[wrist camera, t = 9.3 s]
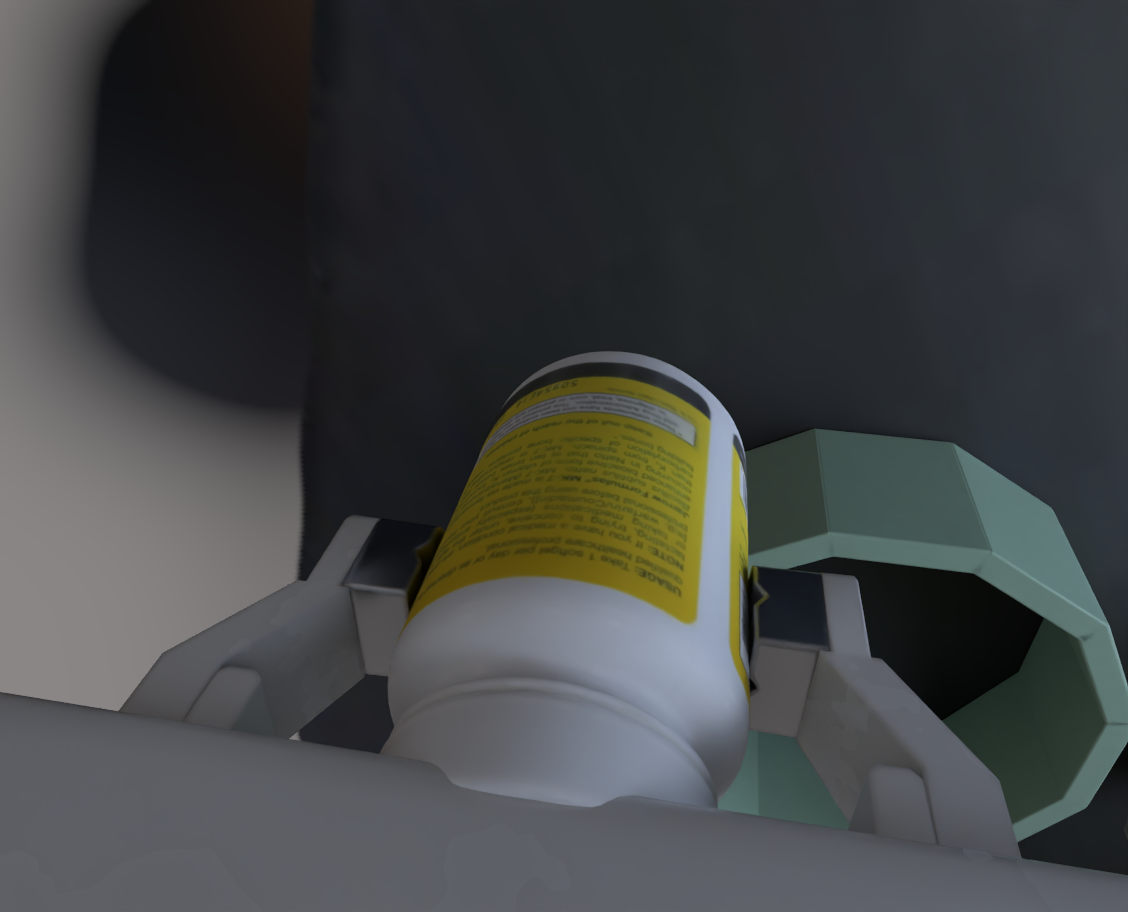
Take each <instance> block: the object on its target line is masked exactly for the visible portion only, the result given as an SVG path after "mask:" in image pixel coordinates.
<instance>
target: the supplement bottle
mask: <svg viewBox="0 0 1128 912" xmlns="http://www.w3.org/2000/svg"><path fill="white" fill-rule="evenodd" d="M747 528H748V509H747V475H746V459H745V452H744V448H743V444H742V440H741V438H740V435H739V432H738V430H737V428H736V426H735V424H734V421H733V420H732V418H731V416H730V415H729V413H728V412H727V411H726V409H725V408H724V407H723V405H722V404H721V403H720V402H719V401H718V399H717V398H716V397H715V396H714V395H713V394H712V393H711V392H709V391H708V390H707V389H706V388H705V387H704V386H703V385H701V384H700V383H699V382H698V381H696V380H695V379H694V378H692V377H691V376H689V375H688V374H686V373H685V372H683V371H681V370H679V369H677V368H676V367H674V366H672V365H670V364H667V363H665V362H663V361H660V360H658V359H655V358H651V357H648V356H644V355H640V354H634V353H627V352H611V351H602V352H590V353H584V354H580V355H575V356H571V357H568V358H565V359H562V360H560V361H557V362H555V363H552V364H550V365H548V366H546V367H545V368H543V369H541V370H539V371H538V372H536V373H535V374H533V375H532V376H531V377H529V378H528V379H527V380H526V381H524V382H523V383H522V384H521V385H520V386H519V387H518V388H517V389H516V390H515V391H514V392H513V393H512V395H511V396H510V397H509V398H508V400H507V401H506V402H505V404H504V406H503V407H502V408H501V410H500V411H499V413H498V414H497V416H496V418H495V420H494V422H493V424H492V426H491V429H490V431H489V433H488V435H487V439H486V441H485V443H484V445H483V448H482V450H481V452H480V455H479V458H478V460H477V463H476V465H475V467H474V469H473V471H472V474H471V476H470V478H469V480H468V482H467V485H466V487H465V489H464V491H463V493H462V496H461V498H460V500H459V503H458V505H457V507H456V509H455V512H454V514H453V516H452V518H451V520H450V522H449V525H448V527H447V529H446V532H445V534H444V536H443V539H442V541H441V543H440V545H439V547H438V549H437V552H436V554H435V556H434V559H433V561H432V563H431V566H430V568H429V570H428V572H427V574H426V577H425V579H424V581H423V584H422V586H421V588H420V591H419V593H418V595H417V597H416V600H415V602H414V604H413V606H412V609H411V611H410V613H409V615H408V618H407V620H406V622H405V624H404V627H403V629H402V631H401V633H400V636H399V638H398V640H397V642H396V646H395V649H394V653H393V656H392V660H391V665H390V670H389V675H388V701H389V707H390V713H391V717H392V720H393V723H394V726H395V727H394V729H393V731H392V732H391V735H390V738H389V739H388V740H387V741H386V743H385V744H384V746H383V748H382V750H381V752H380V754H384V755H390V756H396V757H402V758H408V759H414V760H420V761H425V762H429V763H432V764H434V765H436V766H438V767H439V768H440V769H441V770H442V771H443V772H444V773H445V774H446V775H447V777H448V779H449V780H450V781H451V782H452V783H453V784H455V785H458V786H460V787H464V788H468V789H472V790H477V791H482V792H487V793H492V794H498V795H504V796H510V797H517V798H523V799H529V800H536V801H542V802H549V803H555V804H563V805H571V806H582V807H594V806H600V805H602V804H604V803H605V802H607V801H611V800H613V799H615V798H617V797H624V796H642V797H648V798H654V799H660V800H666V801H673V802H679V803H685V804H691V805H697V806H703V807H709V808H715V809H718V802H719V801H720V799H721V798H722V797H723V796H724V795H725V793H726V792H727V791H728V789H729V788H730V786H731V785H732V783H733V782H734V780H735V778H736V776H737V774H738V772H739V770H740V768H741V765H742V762H743V759H744V755H745V752H746V748H747V742H748V734H749V722H750V690H749V616H748V530H747Z"/></svg>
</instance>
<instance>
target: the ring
mask: <svg viewBox="0 0 1128 912" xmlns="http://www.w3.org/2000/svg"><path fill="white" fill-rule="evenodd" d="M745 459H746V475H747V509H748V528H747V530H748V579H749V573H750V570H751V566H752V565H754V566H762V567H771V568H780V569H788V568H792V567H795V566H799V565H803V564H806V563H810V562H814V561H817V560H821V559H825V558H828V557H832V556H834V557H843V558H851V559H859V560H867V561H876V562H884V563H892V564H900V565H909V566H917V567H925V568H933V569H941V570H950V571H958V572H966V573H974V574H975V575H977V576H979V577H980V578H982V579H983V580H985V581H986V582H988V583H990V584H991V585H993V586H994V587H996V588H998V589H999V590H1001V591H1002V592H1004V593H1006V594H1007V595H1009V596H1010V597H1012V598H1014V599H1015V600H1017V601H1018V602H1020V603H1021V604H1023V605H1025V606H1026V607H1028V608H1029V609H1031V610H1033V611H1034V612H1036V613H1037V614H1039V615H1041V616H1042V617H1044V619H1043V621H1042V623H1041V625H1040V627H1039V630H1038V632H1037V634H1036V636H1035V638H1034V640H1033V642H1032V644H1031V647H1030V649H1029V651H1028V653H1027V655H1026V657H1025V659H1024V661H1023V664H1022V666H1021V668H1020V670H1019V672H1018V673H1016V674H1014V675H1013V676H1011V677H1010V678H1008V679H1007V680H1005V681H1003V682H1002V683H1000V684H999V685H997V686H996V687H994V688H992V689H991V690H989V691H988V692H986V693H985V694H983V695H981V696H980V697H978V698H977V699H975V700H974V701H972V702H970V703H969V704H967V705H966V706H964V707H963V708H961V709H959V710H958V711H956V712H955V713H953V714H952V715H950V716H949V717H947V718H945V719H944V720H942V722H943V723H944V724H945V725H946V726H947V727H948V728H949V729H950V730H951V731H952V732H953V733H954V734H955V735H956V736H957V737H958V738H959V739H960V740H961V741H962V742H963V743H964V745H965V746H966V747H967V748H968V749H969V750H970V751H971V752H972V753H973V754H974V755H975V756H976V757H977V758H978V759H979V760H980V761H981V762H982V763H983V764H984V765H985V766H986V767H987V768H988V769H989V770H990V771H991V772H992V773H993V774H994V775H995V776H996V777H997V778H998V780H999V781H1000V784H1001V788H1002V791H1003V795H1004V798H1005V802H1006V805H1007V809H1008V812H1009V816H1010V819H1011V823H1012V826H1013V830H1014V833H1015V837H1016V840H1017V842H1018V841H1020V840H1022V839H1024V838H1026V837H1029V836H1031V835H1033V834H1035V833H1037V832H1039V831H1041V830H1043V829H1045V828H1047V827H1049V826H1051V825H1053V824H1055V823H1057V822H1059V821H1061V820H1063V819H1065V818H1067V817H1069V816H1071V815H1073V814H1075V813H1077V812H1079V811H1081V810H1083V809H1085V808H1087V806H1088V805H1089V803H1090V801H1091V800H1092V798H1093V797H1094V795H1095V793H1096V792H1097V790H1098V789H1099V787H1100V785H1101V784H1102V782H1103V781H1104V779H1105V777H1106V776H1107V774H1108V773H1109V771H1110V769H1111V768H1112V766H1113V765H1114V763H1115V761H1116V760H1117V758H1118V757H1119V755H1120V753H1121V752H1122V750H1123V749H1124V747H1125V745H1126V744H1127V742H1128V685H1127V682H1126V678H1125V675H1124V672H1123V669H1122V665H1121V662H1120V659H1119V655H1118V652H1117V649H1116V646H1115V642H1114V639H1113V636H1112V633H1111V629H1110V626H1109V624H1108V622H1107V620H1106V618H1105V616H1104V614H1103V612H1102V610H1101V608H1100V606H1099V603H1098V601H1097V599H1096V597H1095V595H1094V593H1093V591H1092V589H1091V587H1090V585H1089V583H1088V581H1087V579H1086V577H1085V575H1084V573H1083V571H1082V569H1081V566H1080V564H1079V562H1078V560H1077V558H1076V556H1075V554H1074V552H1073V550H1072V548H1071V546H1070V544H1069V542H1068V540H1067V538H1066V536H1065V534H1064V532H1063V529H1062V527H1061V525H1060V523H1059V521H1058V519H1057V517H1056V515H1055V513H1054V511H1053V510H1052V508H1051V507H1049V506H1048V505H1046V504H1045V503H1043V502H1042V501H1040V500H1039V499H1037V498H1036V497H1034V496H1033V495H1031V494H1030V493H1028V492H1027V491H1025V490H1024V489H1022V488H1021V487H1019V486H1018V485H1016V484H1015V483H1013V482H1012V481H1010V480H1008V479H1007V478H1005V477H1004V476H1002V475H1001V474H999V473H998V472H996V471H995V470H993V469H992V468H990V467H989V466H987V465H986V464H984V463H983V462H981V461H980V460H978V459H977V458H975V457H974V456H972V455H971V454H969V453H967V452H966V451H964V450H963V449H961V448H960V447H958V446H957V445H955V444H954V443H950V442H942V441H932V440H922V439H912V438H903V437H893V436H883V435H873V434H863V433H853V432H843V431H834V430H824V429H816V428H814V429H811V430H809V431H806V432H803V433H800V434H797V435H794V436H791V437H788V438H785V439H782V440H779V441H776V442H773V443H770V444H767V445H764V446H761V447H758V448H755V449H752V450H749V451H746V452H745ZM796 739H797V738H793V737H787V736H782V735H776V734H770V733H765V732H759V731H753V730H749V734H748V742H747V748H746V752H745V755H744V759H743V762H742V765H741V768H740V770H739V772H738V774H737V776H736V778H735V780H734V782H733V783H732V785H731V786H730V788H729V789H728V791H727V792H726V793H725V795H724V796H723V797H722V798H721V799H720V801H719V802H718V809H721V810H727V811H734V812H740V813H746V814H752V815H758V816H764V817H770V818H776V819H782V820H789V821H795V822H801V823H807V824H813V825H820V826H826V827H832V828H838V829H844V830H848V827H849V825H850V824H849V822H848V821H847V819H846V818H845V816H844V815H843V813H842V812H841V810H840V808H839V807H838V805H837V804H836V802H835V801H834V799H833V798H832V796H831V794H830V793H829V791H828V790H827V788H826V787H825V785H824V784H823V782H822V780H821V779H820V777H819V776H818V774H817V773H816V771H815V770H814V768H813V766H812V765H811V763H810V762H809V760H808V759H807V757H806V756H805V754H804V752H803V751H802V749H801V748H800V746H799V745H798V743H797V742H796Z"/></svg>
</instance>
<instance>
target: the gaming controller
mask: <svg viewBox="0 0 1128 912" xmlns="http://www.w3.org/2000/svg"><path fill="white" fill-rule="evenodd" d="M1124 832H1125V835H1126V837H1127V840H1128V817H1127V820H1126V823H1125V826H1124Z"/></svg>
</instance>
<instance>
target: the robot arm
mask: <svg viewBox="0 0 1128 912" xmlns="http://www.w3.org/2000/svg"><path fill="white" fill-rule="evenodd" d="M444 534H445V531H444V530H443V529H442V528H441V527H437V526H430V525H424V524H417V523H410V522H403V521H396V520H389V519H383V518H382V519H378V518H372V517H365V516H358V515H351V516H350V517H348V518H346V519H345V520H344V522H343V523H342V525H341V527H340V528H339V530H338V531H337V533H336V534H335V536H334V538H333V539H332V541H331V542H330V544H329V546H328V547H327V549H326V550H325V552H324V553H323V555H322V557H321V558H320V560H319V561H318V563H317V565H316V566H315V568H314V569H313V571H312V572H311V574H310V576H309V577H308V579H307V580H306V581H301V580H297V581H295V582H293V583H291V584H289V585H288V586H286V587H284V588H282V589H280V590H278V591H276V592H275V593H273V594H271V595H269V596H267V597H265V598H264V599H262V600H260V601H258V602H256V603H254V604H252V605H251V606H249V607H247V608H245V609H243V610H241V611H239V612H238V613H236V614H234V615H232V616H230V617H228V618H227V619H225V620H223V621H221V622H219V623H217V624H216V625H214V626H212V627H210V628H208V629H206V630H204V631H202V632H201V633H199V634H197V635H195V636H193V637H191V638H189V639H188V640H186V641H184V642H182V643H180V644H178V645H177V646H175V647H173V648H171V649H169V650H167V651H165V652H164V653H163V654H162V655H161V656H160V657H159V659H158V660H157V661H156V663H155V664H154V665H153V666H152V668H151V669H150V670H149V672H148V673H147V674H146V676H145V677H144V678H143V680H142V681H141V682H140V684H139V685H138V686H137V688H136V689H135V690H134V691H133V693H132V694H131V695H130V697H129V698H128V699H127V701H126V702H125V703H124V705H123V706H122V707H121V709H120V710H119V711H113V710H107V709H101V708H94V707H88V706H82V705H76V704H70V703H64V702H57V701H51V700H45V699H39V698H33V697H27V696H21V695H14V694H8V693H2V692H0V912H1128V875H1122V874H1115V873H1109V872H1103V871H1097V870H1091V869H1085V868H1078V867H1072V866H1066V865H1060V864H1054V863H1048V862H1042V861H1035V860H1029V859H1023V858H1021V854H1020V851H1019V847H1018V844H1017V840H1016V837H1015V833H1014V830H1013V826H1012V823H1011V819H1010V816H1009V812H1008V809H1007V805H1006V802H1005V798H1004V795H1003V791H1002V788H1001V784H1000V781H999V780H998V778H997V777H996V776H995V775H994V774H993V773H992V772H991V771H990V770H989V769H988V768H987V767H986V766H985V765H984V764H983V763H982V762H981V761H980V760H979V759H978V758H977V757H976V756H975V755H974V754H973V753H972V752H971V751H970V750H969V749H968V748H967V747H966V746H965V745H964V743H963V742H962V741H961V740H960V739H959V738H958V737H957V736H956V735H955V734H954V733H953V732H952V731H951V730H950V729H949V728H948V727H947V726H946V725H945V724H944V723H943V722H942V721H941V720H940V719H939V718H938V717H937V716H936V715H935V714H934V713H933V712H932V711H931V710H930V708H929V707H928V706H927V705H926V704H925V703H924V702H923V701H922V700H921V699H920V698H919V697H918V696H917V695H916V694H915V693H914V692H913V691H912V690H911V689H910V688H909V687H908V686H907V685H906V684H905V683H904V682H903V681H902V680H901V679H900V678H899V677H898V676H897V675H896V673H895V672H894V671H893V670H892V669H891V668H890V667H889V666H888V665H887V664H886V663H885V662H884V661H883V660H882V659H878V658H872V657H871V654H870V648H869V642H868V637H867V631H866V625H865V619H864V613H863V608H862V602H861V596H860V590H859V584H858V580H857V579H856V578H855V576H849V575H839V574H830V573H814V572H805V571H797V570H788V569H780V568H771V567H762V566H754V565H752V566H751V570H750V573H749V579H748V616H749V690H750V722H749V730H753V731H759V732H765V733H770V734H776V735H782V736H787V737H793V738H797V739H796V742H797V743H798V745H799V746H800V748H801V749H802V751H803V752H804V754H805V756H806V757H807V759H808V760H809V762H810V763H811V765H812V766H813V768H814V770H815V771H816V773H817V774H818V776H819V777H820V779H821V780H822V782H823V784H824V785H825V787H826V788H827V790H828V791H829V793H830V794H831V796H832V798H833V799H834V801H835V802H836V804H837V805H838V807H839V808H840V810H841V812H842V813H843V815H844V816H845V818H846V819H847V821H848V822H849V824H850V825H849V827H848V830H844V829H838V828H832V827H826V826H820V825H813V824H807V823H801V822H795V821H789V820H782V819H776V818H770V817H764V816H758V815H752V814H746V813H740V812H734V811H727V810H721V809H715V808H709V807H703V806H697V805H691V804H685V803H679V802H673V801H666V800H660V799H654V798H648V797H642V796H624V797H617V798H615V799H613V800H611V801H607V802H605V803H604V804H602V805H600V806H594V807H582V806H571V805H563V804H555V803H549V802H542V801H536V800H529V799H523V798H517V797H510V796H504V795H498V794H492V793H487V792H482V791H477V790H472V789H468V788H464V787H460V786H458V785H455V784H453V783H452V782H451V781H450V780H449V779H448V777H447V775H446V774H445V773H444V772H443V771H442V770H441V769H440V768H439V767H438V766H436V765H434V764H432V763H429V762H425V761H420V760H414V759H408V758H402V757H396V756H390V755H384V754H377V753H371V752H365V751H359V750H353V749H347V748H340V747H334V746H328V745H322V744H316V743H310V742H304V741H297V740H291V739H289V738H290V737H291V736H293V735H294V734H295V733H296V732H298V731H299V730H300V729H301V728H302V727H304V726H305V725H306V724H307V723H309V722H310V721H311V720H312V719H314V718H315V717H316V716H317V715H318V714H320V713H321V712H322V711H323V710H325V709H326V708H327V707H328V706H329V705H331V704H332V703H333V702H334V701H336V700H337V699H338V698H339V697H340V696H342V695H343V694H344V693H345V692H347V691H348V690H349V689H350V688H351V687H353V686H354V685H355V684H356V683H358V682H359V681H360V680H361V679H362V678H364V677H365V675H364V674H372V675H380V676H388V675H389V670H390V665H391V660H392V656H393V653H394V649H395V646H396V642H397V640H398V638H399V636H400V633H401V631H402V629H403V627H404V624H405V622H406V620H407V618H408V615H409V613H410V611H411V609H412V606H413V604H414V602H415V600H416V597H417V595H418V593H419V591H420V588H421V586H422V584H423V581H424V579H425V577H426V574H427V572H428V570H429V568H430V566H431V563H432V561H433V559H434V556H435V554H436V552H437V549H438V547H439V545H440V543H441V541H442V539H443V536H444Z"/></svg>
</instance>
